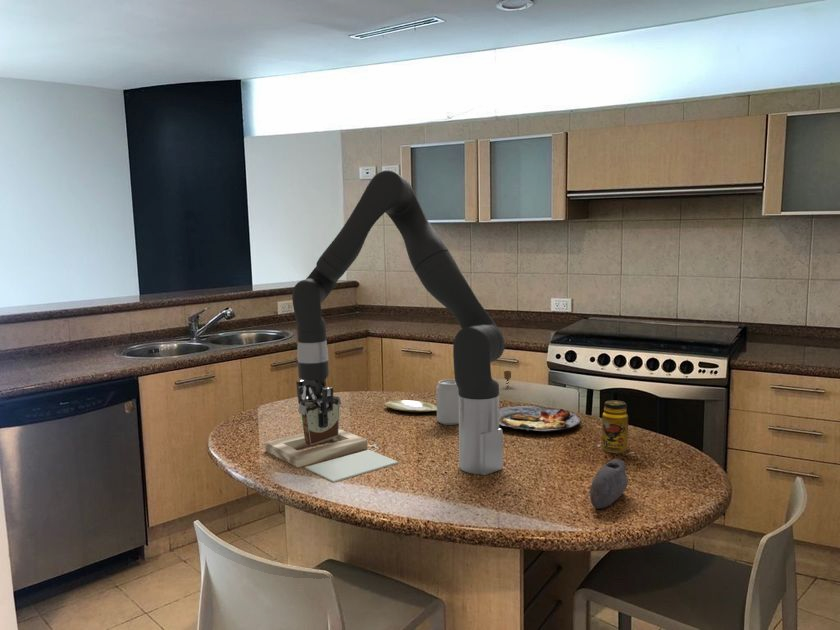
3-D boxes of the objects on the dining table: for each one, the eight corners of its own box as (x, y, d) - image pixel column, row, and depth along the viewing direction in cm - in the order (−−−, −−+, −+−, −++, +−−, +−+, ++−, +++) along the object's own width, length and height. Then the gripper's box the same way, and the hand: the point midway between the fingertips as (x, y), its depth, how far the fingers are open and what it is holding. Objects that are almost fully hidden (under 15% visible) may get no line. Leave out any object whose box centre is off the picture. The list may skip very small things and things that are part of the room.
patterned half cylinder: (326, 430, 176) (324, 393, 175) (342, 434, 172) (341, 396, 171) (289, 442, 167) (287, 403, 166) (305, 447, 163) (303, 406, 162)
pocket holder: (367, 448, 170) (367, 439, 170) (297, 467, 158) (297, 457, 157) (333, 434, 183) (332, 426, 182) (265, 451, 170) (265, 442, 170)
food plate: (589, 419, 194) (589, 407, 193) (567, 442, 173) (567, 429, 173) (506, 409, 205) (506, 398, 205) (477, 430, 185) (477, 418, 184)
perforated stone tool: (605, 517, 128) (606, 482, 127) (579, 511, 131) (579, 477, 130) (632, 492, 140) (633, 459, 139) (608, 486, 143) (608, 455, 142)
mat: (398, 463, 159) (398, 461, 159) (333, 483, 148) (333, 480, 148) (368, 451, 168) (368, 449, 168) (305, 468, 157) (305, 466, 157)
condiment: (604, 454, 163) (605, 406, 161) (594, 443, 171) (595, 397, 169) (634, 454, 163) (635, 405, 161) (623, 443, 171) (623, 396, 170)
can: (467, 420, 193) (467, 379, 192) (455, 427, 187) (454, 385, 186) (445, 417, 197) (444, 377, 196) (432, 423, 191) (431, 382, 190)
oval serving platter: (498, 416, 198) (498, 409, 198) (483, 425, 189) (483, 418, 189) (395, 403, 215) (395, 397, 215) (378, 411, 206) (377, 404, 205)
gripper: (341, 360, 164) (344, 427, 166) (311, 353, 175) (314, 416, 177) (315, 365, 159) (318, 433, 161) (285, 357, 170) (288, 421, 172)
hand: (316, 424), depth 169 cm, fingers closed on patterned half cylinder, 6 cm apart
